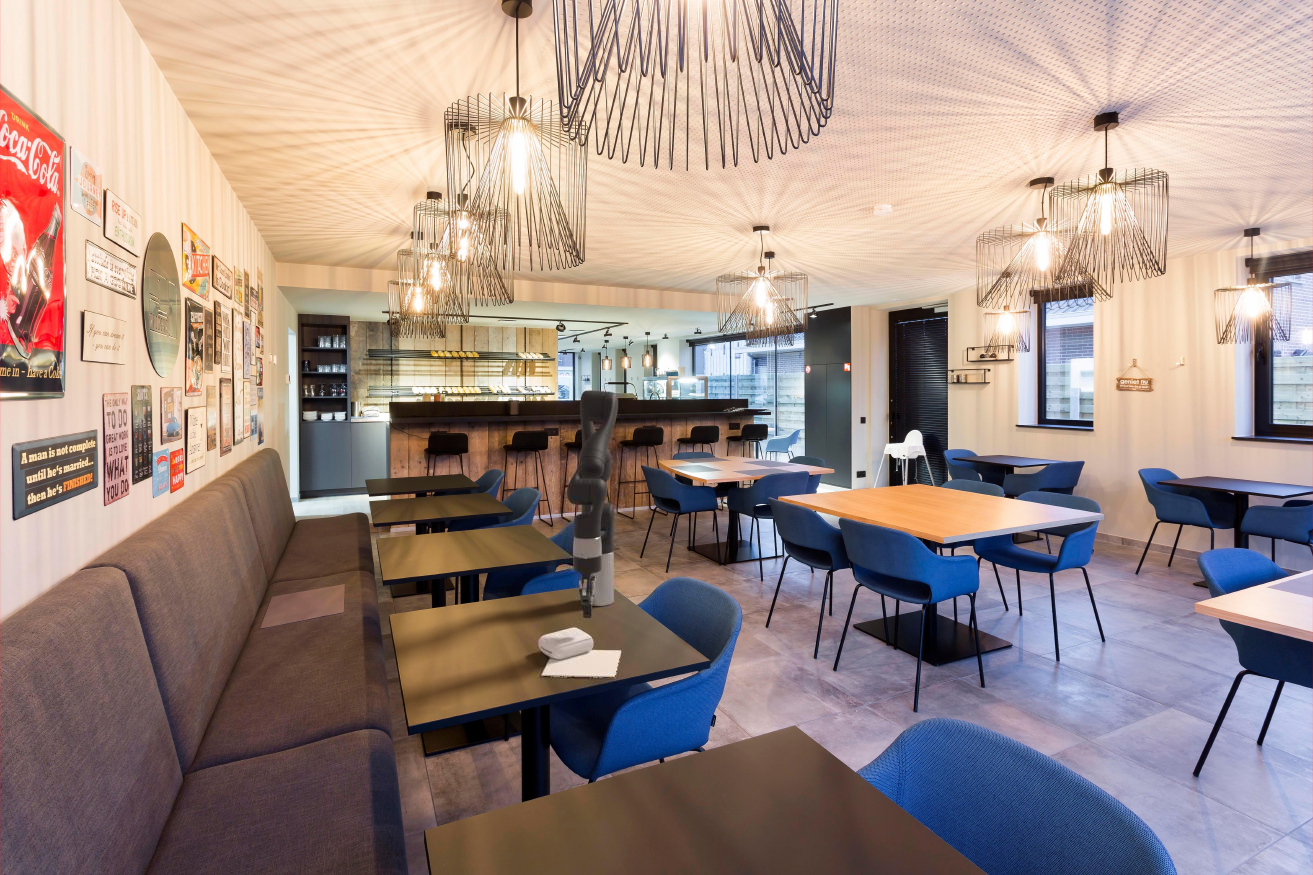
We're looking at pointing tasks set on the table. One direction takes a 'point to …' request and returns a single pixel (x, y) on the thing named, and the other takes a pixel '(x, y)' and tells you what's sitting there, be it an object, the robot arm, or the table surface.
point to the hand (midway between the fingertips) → (587, 616)
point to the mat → (585, 664)
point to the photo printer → (565, 643)
